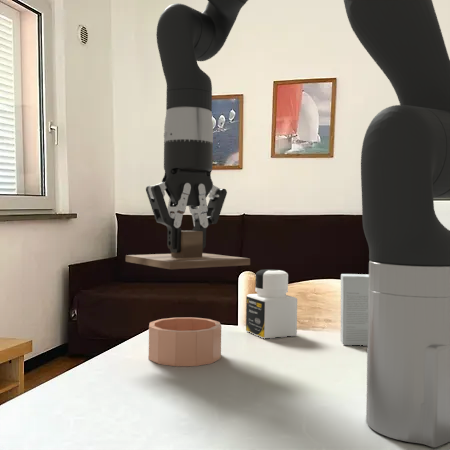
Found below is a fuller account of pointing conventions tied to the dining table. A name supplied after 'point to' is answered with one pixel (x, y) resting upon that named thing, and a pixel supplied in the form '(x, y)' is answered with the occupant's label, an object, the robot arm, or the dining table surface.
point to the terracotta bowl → (184, 341)
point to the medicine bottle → (271, 306)
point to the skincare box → (354, 309)
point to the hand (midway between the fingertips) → (186, 251)
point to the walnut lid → (188, 256)
